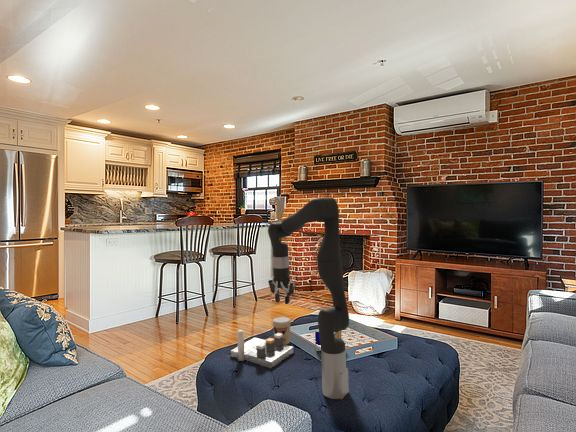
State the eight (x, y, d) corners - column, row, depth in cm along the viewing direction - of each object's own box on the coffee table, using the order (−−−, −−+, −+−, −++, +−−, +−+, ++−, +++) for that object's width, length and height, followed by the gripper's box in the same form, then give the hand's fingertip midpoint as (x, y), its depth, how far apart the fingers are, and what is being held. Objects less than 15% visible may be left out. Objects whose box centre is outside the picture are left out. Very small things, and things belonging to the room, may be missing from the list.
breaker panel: (293, 352, 179) (293, 346, 178) (271, 368, 164) (271, 361, 164) (254, 343, 192) (254, 337, 192) (231, 356, 177) (230, 350, 177)
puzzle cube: (315, 351, 179) (314, 331, 179) (323, 343, 188) (322, 324, 188) (334, 355, 175) (334, 334, 174) (342, 347, 183) (341, 327, 183)
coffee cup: (270, 344, 189) (269, 321, 188) (277, 337, 198) (276, 315, 197) (288, 346, 186) (287, 323, 185) (293, 339, 195) (292, 317, 194)
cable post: (247, 359, 173) (245, 330, 172) (242, 362, 170) (240, 332, 169) (241, 357, 175) (239, 329, 174) (236, 360, 172) (234, 331, 171)
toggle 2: (275, 349, 175) (274, 338, 175) (271, 352, 173) (270, 341, 172) (269, 348, 177) (269, 337, 177) (265, 350, 174) (265, 340, 174)
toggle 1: (266, 355, 169) (265, 344, 169) (262, 358, 167) (261, 346, 167) (260, 353, 171) (260, 342, 171) (256, 356, 169) (256, 345, 168)
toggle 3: (283, 344, 181) (283, 333, 181) (279, 346, 179) (279, 336, 178) (278, 343, 183) (277, 332, 182) (274, 345, 180) (274, 334, 180)
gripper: (298, 265, 167) (300, 302, 168) (273, 263, 175) (274, 298, 176) (289, 268, 161) (291, 307, 162) (263, 266, 169) (265, 303, 170)
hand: (282, 302), depth 169 cm, fingers open, 4 cm apart
